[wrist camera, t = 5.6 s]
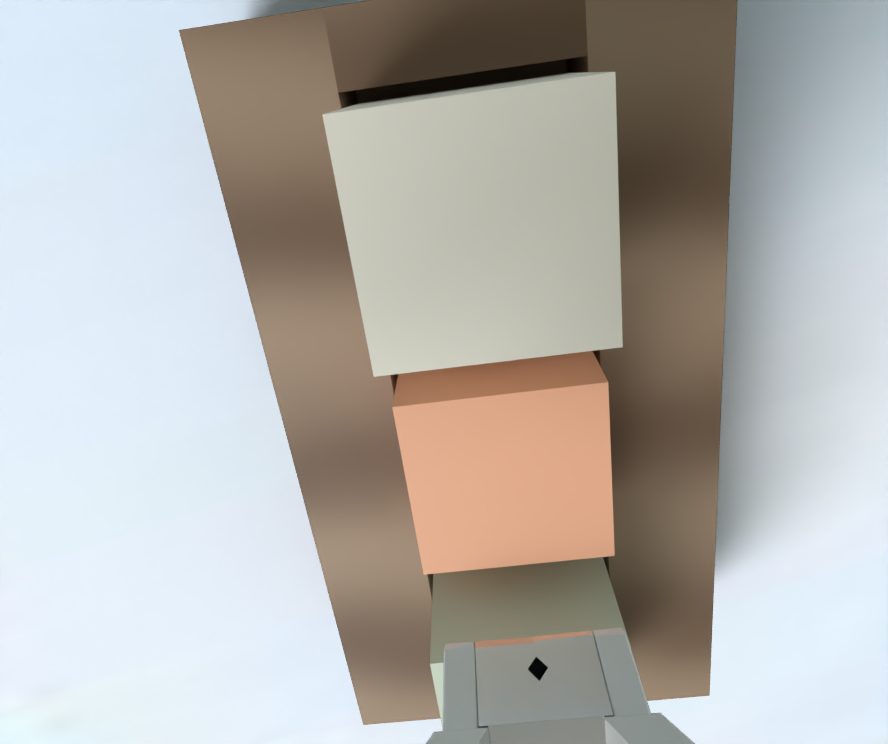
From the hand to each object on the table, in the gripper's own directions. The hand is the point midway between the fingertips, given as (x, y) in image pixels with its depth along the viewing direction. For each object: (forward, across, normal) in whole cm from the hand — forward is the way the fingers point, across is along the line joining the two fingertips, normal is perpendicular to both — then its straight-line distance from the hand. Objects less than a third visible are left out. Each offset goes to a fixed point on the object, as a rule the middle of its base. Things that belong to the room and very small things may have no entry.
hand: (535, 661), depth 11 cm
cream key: (+9, 0, -6) cm, 11 cm away
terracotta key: (+11, 0, 0) cm, 11 cm away
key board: (+12, 0, 0) cm, 13 cm away
